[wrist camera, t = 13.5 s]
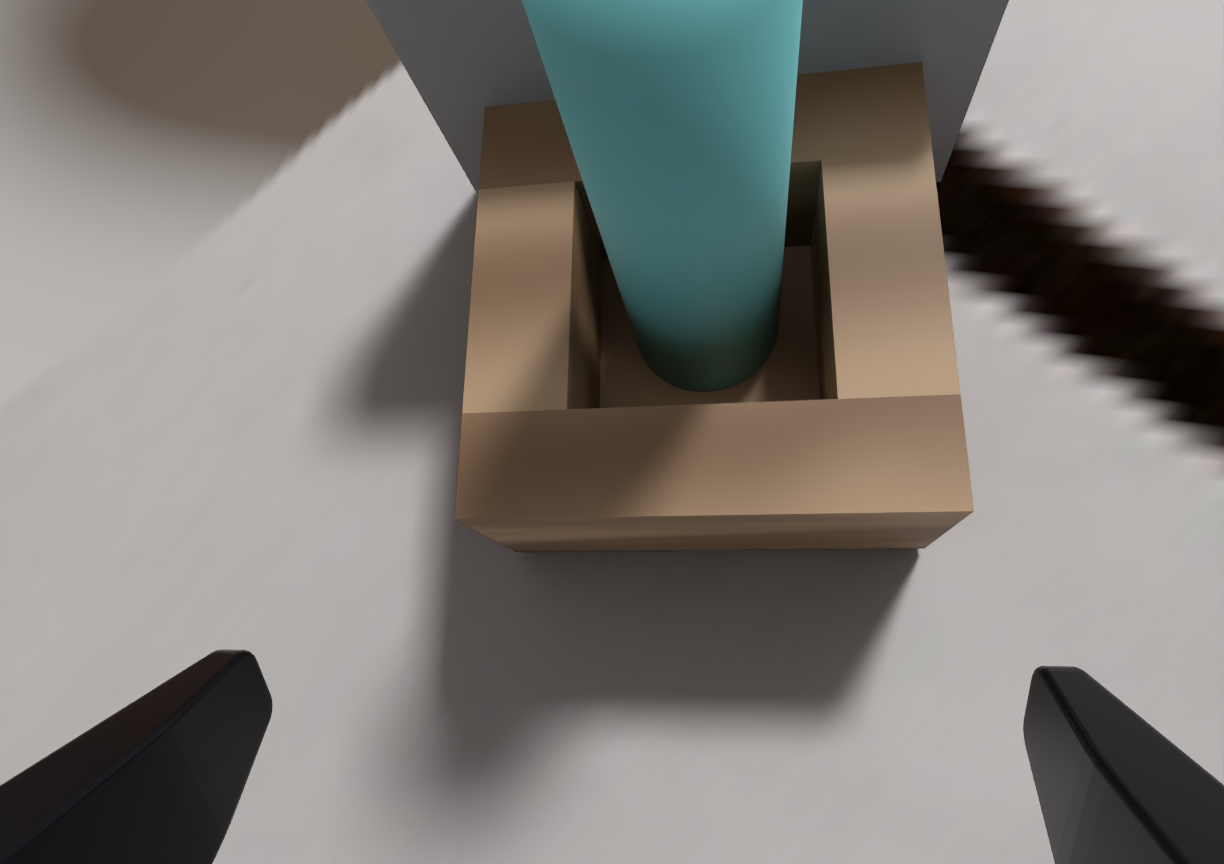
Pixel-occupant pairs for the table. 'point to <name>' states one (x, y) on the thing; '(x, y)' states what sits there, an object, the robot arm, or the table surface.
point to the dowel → (683, 165)
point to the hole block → (740, 415)
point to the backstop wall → (829, 41)
